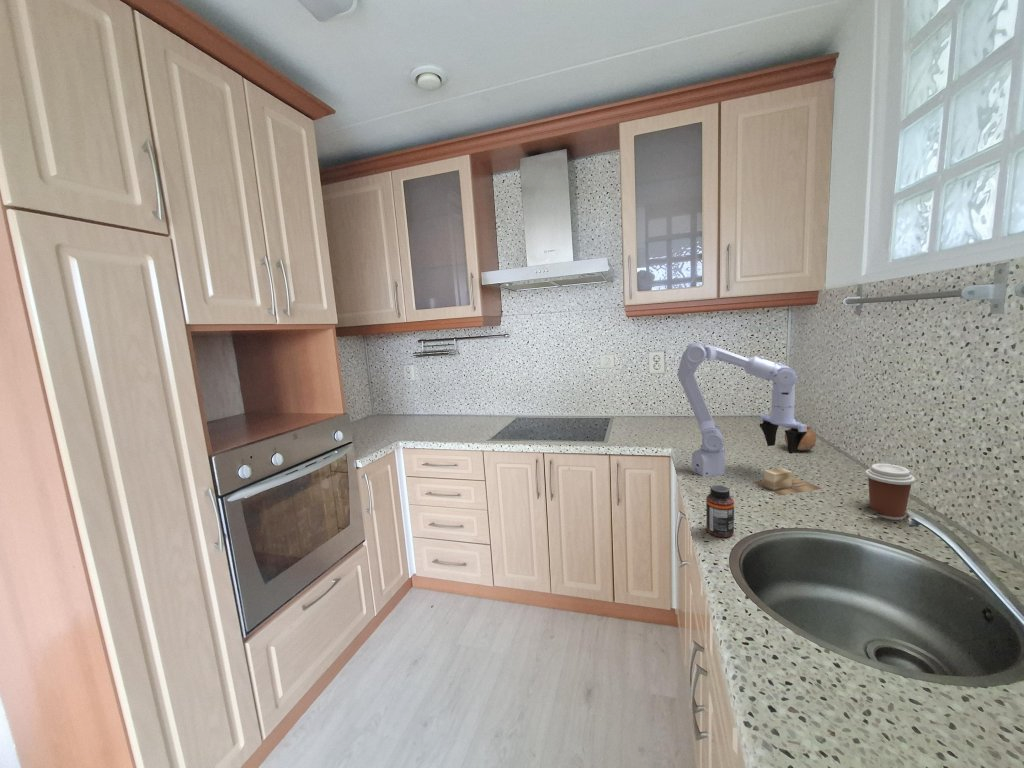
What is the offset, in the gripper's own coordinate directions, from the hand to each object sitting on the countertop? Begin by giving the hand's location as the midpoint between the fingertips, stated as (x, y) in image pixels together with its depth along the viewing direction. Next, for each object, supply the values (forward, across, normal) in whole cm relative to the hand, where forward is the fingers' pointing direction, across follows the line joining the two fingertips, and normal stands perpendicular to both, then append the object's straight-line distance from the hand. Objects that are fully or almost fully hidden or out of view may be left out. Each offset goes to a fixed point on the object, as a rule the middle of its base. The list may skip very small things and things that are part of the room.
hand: (781, 449), depth 121 cm
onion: (+10, +20, -29) cm, 37 cm away
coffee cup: (+10, -25, -6) cm, 28 cm away
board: (+10, -6, +3) cm, 12 cm away
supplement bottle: (+10, -20, +38) cm, 44 cm away
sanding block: (+9, -6, +7) cm, 13 cm away
